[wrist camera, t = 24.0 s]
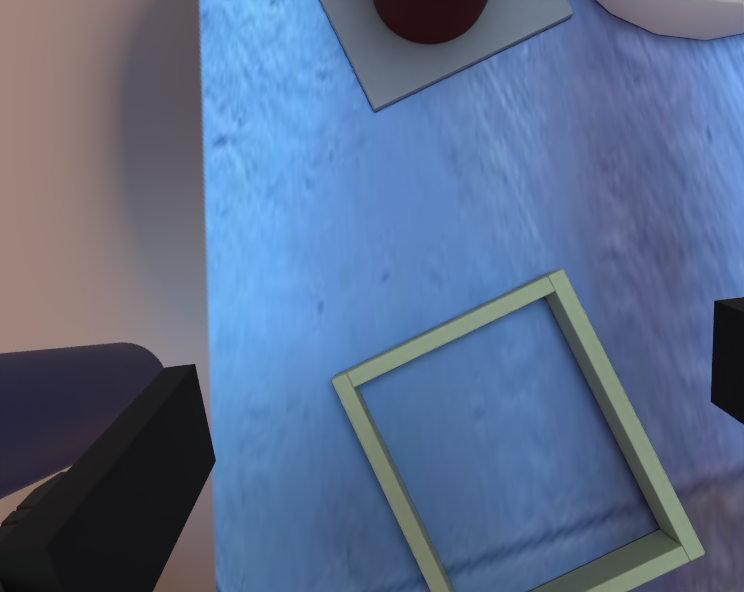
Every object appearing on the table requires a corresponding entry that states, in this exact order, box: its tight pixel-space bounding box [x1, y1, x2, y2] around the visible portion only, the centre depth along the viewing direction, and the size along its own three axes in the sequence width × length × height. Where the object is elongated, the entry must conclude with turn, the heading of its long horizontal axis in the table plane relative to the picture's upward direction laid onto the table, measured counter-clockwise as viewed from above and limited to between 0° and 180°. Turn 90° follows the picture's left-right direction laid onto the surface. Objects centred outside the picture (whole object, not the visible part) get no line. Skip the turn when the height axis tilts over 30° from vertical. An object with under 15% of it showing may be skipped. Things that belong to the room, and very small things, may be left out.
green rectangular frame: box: [331, 269, 705, 592], centre depth 32 cm, size 15×18×2 cm
